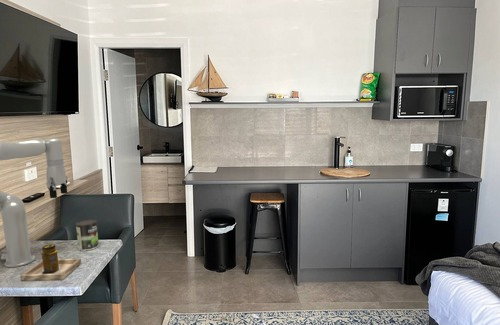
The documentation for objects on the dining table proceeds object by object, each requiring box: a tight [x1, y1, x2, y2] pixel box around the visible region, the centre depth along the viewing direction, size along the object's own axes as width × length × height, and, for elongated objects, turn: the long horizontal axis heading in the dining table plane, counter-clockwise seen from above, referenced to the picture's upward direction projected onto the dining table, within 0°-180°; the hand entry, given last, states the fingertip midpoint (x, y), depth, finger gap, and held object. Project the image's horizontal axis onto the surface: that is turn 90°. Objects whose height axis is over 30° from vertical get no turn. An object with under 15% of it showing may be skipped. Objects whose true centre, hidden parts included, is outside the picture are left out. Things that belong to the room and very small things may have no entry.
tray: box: [20, 258, 82, 282], centre depth 158 cm, size 18×16×2 cm
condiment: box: [41, 243, 61, 274], centre depth 156 cm, size 7×8×12 cm
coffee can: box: [75, 219, 100, 252], centre depth 185 cm, size 10×10×14 cm
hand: (59, 195), depth 177 cm, fingers open, 9 cm apart
